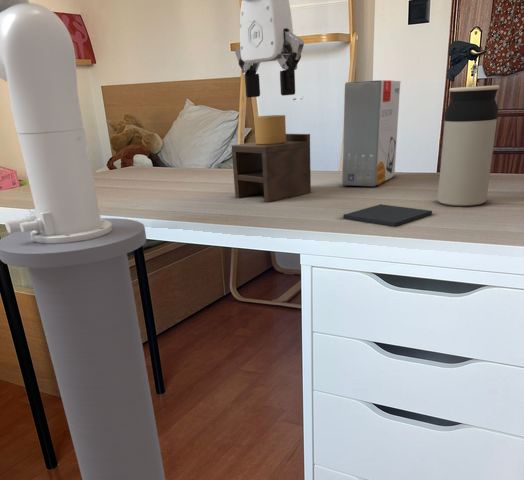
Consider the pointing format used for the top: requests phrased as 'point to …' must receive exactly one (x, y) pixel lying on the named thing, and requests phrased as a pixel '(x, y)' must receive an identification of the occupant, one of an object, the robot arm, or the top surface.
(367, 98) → the hard drive box
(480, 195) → the travel mug
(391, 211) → the mat
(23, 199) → the top surface
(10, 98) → the robot arm
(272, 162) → the rack
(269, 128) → the tape roll
